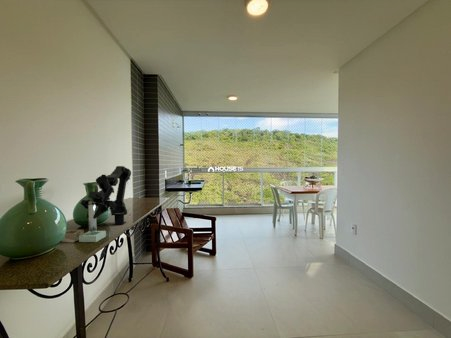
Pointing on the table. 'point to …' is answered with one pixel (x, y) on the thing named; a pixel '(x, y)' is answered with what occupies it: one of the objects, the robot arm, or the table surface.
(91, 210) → the axle
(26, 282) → the table surface
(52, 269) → the table surface
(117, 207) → the robot arm
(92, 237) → the socket block
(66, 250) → the table surface
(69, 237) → the brown square frame
